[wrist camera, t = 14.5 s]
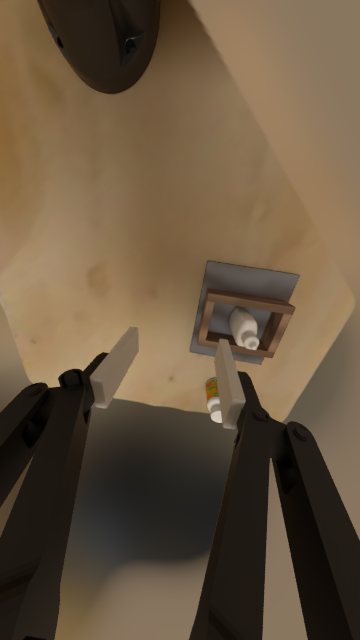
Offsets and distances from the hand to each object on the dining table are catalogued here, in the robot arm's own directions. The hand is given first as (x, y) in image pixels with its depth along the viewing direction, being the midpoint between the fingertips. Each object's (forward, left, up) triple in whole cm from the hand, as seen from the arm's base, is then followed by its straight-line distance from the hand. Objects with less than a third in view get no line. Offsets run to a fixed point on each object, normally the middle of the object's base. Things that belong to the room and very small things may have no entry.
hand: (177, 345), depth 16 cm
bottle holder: (+4, +12, -22) cm, 25 cm away
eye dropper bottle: (+4, +12, -21) cm, 25 cm away
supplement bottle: (+25, +12, -22) cm, 36 cm away
